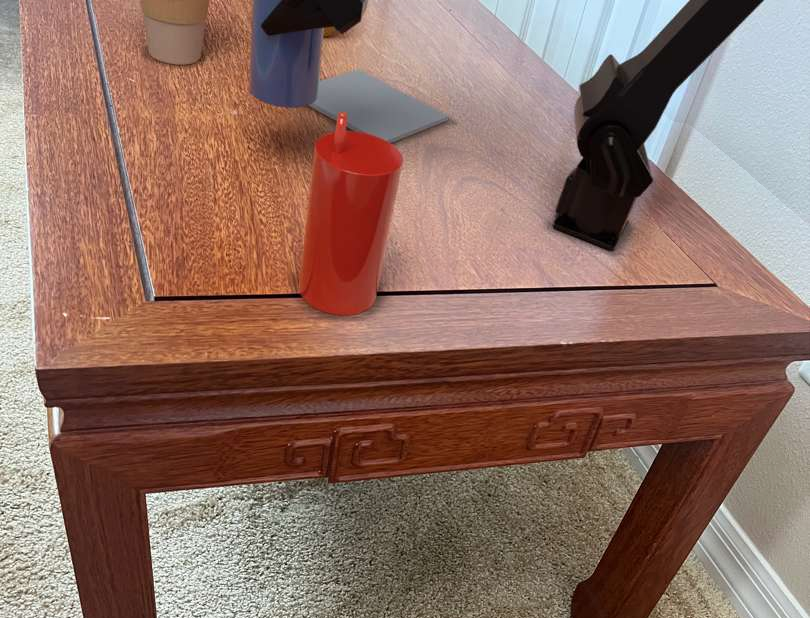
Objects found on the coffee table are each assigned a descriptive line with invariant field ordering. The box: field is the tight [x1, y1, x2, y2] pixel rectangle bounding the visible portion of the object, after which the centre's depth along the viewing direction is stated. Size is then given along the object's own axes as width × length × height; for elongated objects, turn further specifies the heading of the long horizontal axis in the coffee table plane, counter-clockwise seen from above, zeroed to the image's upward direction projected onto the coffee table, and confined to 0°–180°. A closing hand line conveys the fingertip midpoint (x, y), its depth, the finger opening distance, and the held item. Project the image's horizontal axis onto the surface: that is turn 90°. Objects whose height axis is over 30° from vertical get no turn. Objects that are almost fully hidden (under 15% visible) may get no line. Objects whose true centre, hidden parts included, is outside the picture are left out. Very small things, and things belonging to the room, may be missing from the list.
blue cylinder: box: [248, 0, 325, 109], centre depth 72 cm, size 6×6×15 cm
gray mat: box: [307, 69, 449, 144], centre depth 94 cm, size 14×12×1 cm
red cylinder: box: [298, 112, 404, 316], centre depth 62 cm, size 6×6×16 cm
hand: (273, 17), depth 73 cm, fingers closed on blue cylinder, 6 cm apart
